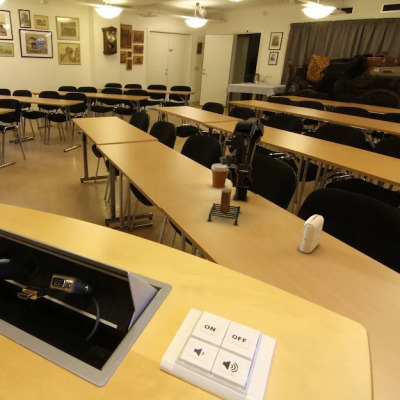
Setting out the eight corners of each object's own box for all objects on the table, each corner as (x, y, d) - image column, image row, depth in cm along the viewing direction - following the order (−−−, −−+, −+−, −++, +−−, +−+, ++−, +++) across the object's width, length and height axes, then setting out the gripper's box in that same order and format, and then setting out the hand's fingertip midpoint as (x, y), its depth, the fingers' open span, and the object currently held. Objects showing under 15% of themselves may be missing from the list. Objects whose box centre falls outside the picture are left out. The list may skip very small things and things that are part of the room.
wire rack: (213, 208, 151) (213, 202, 150) (239, 212, 147) (240, 206, 145) (208, 221, 139) (208, 214, 138) (236, 225, 135) (237, 219, 134)
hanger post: (221, 209, 142) (224, 187, 138) (229, 211, 140) (231, 189, 136) (219, 212, 140) (221, 190, 135) (227, 214, 138) (229, 191, 133)
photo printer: (309, 254, 113) (316, 223, 108) (296, 250, 116) (303, 219, 111) (319, 244, 119) (327, 214, 115) (307, 240, 122) (314, 210, 118)
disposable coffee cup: (220, 190, 172) (223, 169, 167) (206, 186, 179) (207, 165, 174) (230, 186, 178) (233, 165, 173) (216, 182, 184) (218, 162, 180)
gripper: (218, 147, 151) (213, 179, 154) (228, 149, 133) (222, 186, 136) (241, 149, 151) (236, 182, 154) (255, 151, 132) (248, 188, 136)
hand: (235, 184), depth 145 cm, fingers open, 9 cm apart
